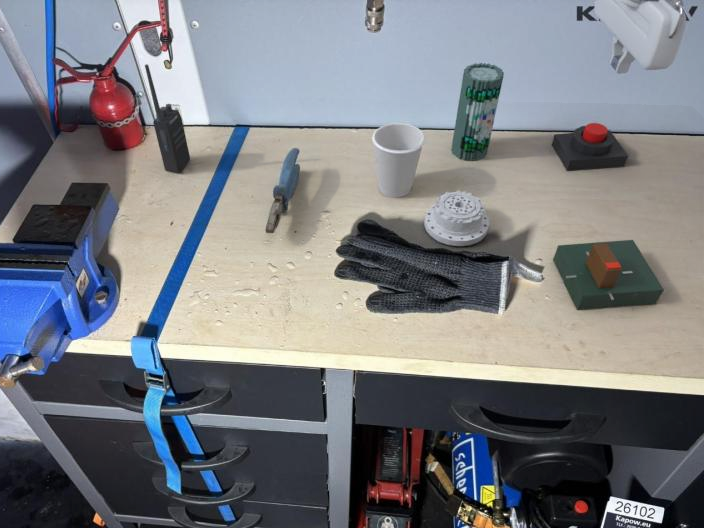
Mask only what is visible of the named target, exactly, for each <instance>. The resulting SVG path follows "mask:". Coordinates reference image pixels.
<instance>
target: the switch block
mask: <svg viewBox="0 0 704 528" xmlns="http://www.w3.org/2000/svg"><path fill="white" fill-rule="evenodd" d="M585 127H586V125H581V126H579V127H577V128H575V129H574V131H573V132H569V133H568V132H567V133H566V132H565V133H554V135H553V139H552V142H551V146H552V148H553V150H554V152H555V154H557V157H558V159H559V160H560V162H561V163H562V165H563V168H564V169H565V170H566V171H567V172H569V171H582V170H583V171H584V170H596V169H597V170H598V169H611V168H623V167H626V164H627V161H628V159H629V155H628V153H627V151H626V150H625V149H624V147H623V146H622V145H621V143H620V142H619V141H618V139H617V137H616V136H615V135H614V134H613V132H612V131H611V129H608V132H607V134H606V137H605V140H604V141H603V142H601V143H593V142H588V141H587V140H585V139H583V137H582V135H583V132H584V129H585Z"/></svg>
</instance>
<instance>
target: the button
mask: <svg viewBox="0 0 704 528" xmlns="http://www.w3.org/2000/svg"><path fill="white" fill-rule="evenodd" d="M585 126H586V127H585V129H584V132H583V135H582V137H583V139H585V140H587V141H588V142H593V143H601V142H603V141H604V140H605V137H606V134H607V132H608V130H609V129H608V127H607V126H606V125H604V124H601V123H598V122H589V123H588V124H586V125H585Z"/></svg>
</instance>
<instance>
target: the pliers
mask: <svg viewBox="0 0 704 528" xmlns="http://www.w3.org/2000/svg"><path fill="white" fill-rule="evenodd" d="M299 154H300V149H299V148H298V147H293V148H291V149H290V150H289V151H288V153H287V154H286V156H285V158H284V161H283V163H282V167H281V170H280V175H279V179H278V184H276V185H274V187H273V190H272V196H273V199H274V200H273V202H272V204H271V207H270V210H269V213H268V217H267V222H266V225H265V233H266V234H271V235H272V234H274V233H275V231H276V229H278V226H279V224H280V222H281V218H282V214H286V213H287V212H288V210H289V200H290V198H291V197H292V196H293V194H294V191H295V189H296V187H297V185H298V181H299V178H300V171H301V166H300V164H299V163H297V159H298V156H299Z"/></svg>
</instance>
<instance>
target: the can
mask: <svg viewBox="0 0 704 528" xmlns="http://www.w3.org/2000/svg"><path fill="white" fill-rule="evenodd" d="M504 73H505V72H504V71H503V69H502V68H501V67H499V66H497V65H495V64H491V63H484V62H480V63H477V62H476V63H473V64H470V65H467V66H466V67H465V68H464V69H463V74H462V80H461V86H460V93H459V98H458V106H457V112H456V118H455V124H454V131H453V137H452V141H451V142H452V143H451V149H450V151H451V153H452V155H453V156H455V157H456V158H458V159H459V160H461V159H462V160H463V161H467V162H468V161H470V162H472V161H475V162H476V161H479V160H481V159H484V158H486V156H487V155H488V150H489V146H490V142H491V137H492V133H493V127H494V122H495V117H496V113H497V109H498V103H499V99H500V94H501V90H502V85H503V79H504V75H505V74H504Z"/></svg>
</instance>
